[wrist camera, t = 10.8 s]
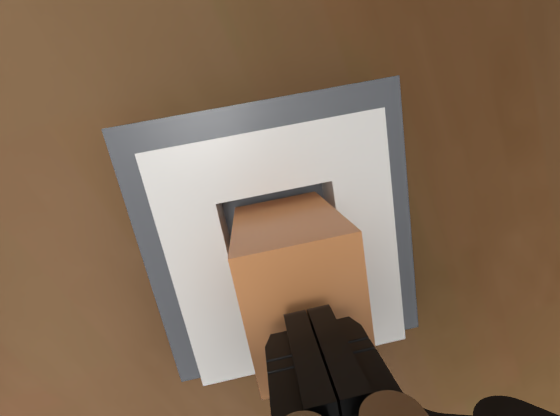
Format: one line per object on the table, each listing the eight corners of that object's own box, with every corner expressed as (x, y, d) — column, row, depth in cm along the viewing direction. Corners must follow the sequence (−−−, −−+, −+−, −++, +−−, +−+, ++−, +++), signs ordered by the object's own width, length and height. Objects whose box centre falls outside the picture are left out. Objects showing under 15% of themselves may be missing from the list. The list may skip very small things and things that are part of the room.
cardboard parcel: (311, 188, 18) (361, 231, 10) (324, 275, 19) (378, 372, 12) (235, 203, 18) (227, 259, 10) (254, 290, 19) (261, 400, 11)
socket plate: (383, 81, 19) (424, 65, 14) (403, 310, 23) (440, 352, 19) (117, 129, 18) (75, 128, 14) (187, 359, 22) (172, 416, 18)
